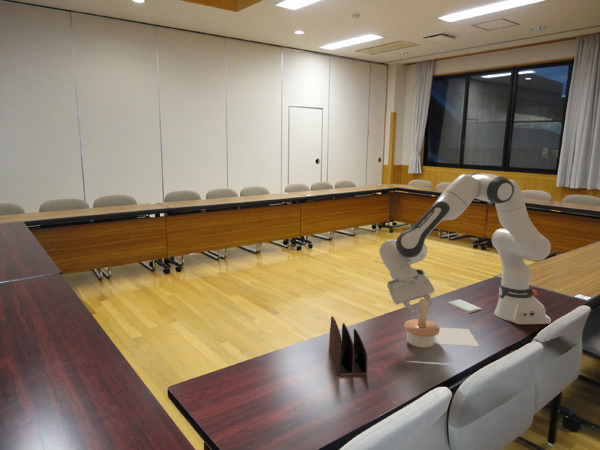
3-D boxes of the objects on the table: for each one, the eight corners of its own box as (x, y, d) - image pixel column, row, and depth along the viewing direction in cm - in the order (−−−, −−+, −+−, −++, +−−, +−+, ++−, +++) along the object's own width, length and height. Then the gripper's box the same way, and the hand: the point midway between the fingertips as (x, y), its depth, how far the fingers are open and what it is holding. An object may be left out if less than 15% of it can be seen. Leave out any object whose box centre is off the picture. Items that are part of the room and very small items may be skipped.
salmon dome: (435, 323, 168) (437, 294, 165) (442, 337, 155) (445, 306, 153) (402, 321, 169) (404, 292, 167) (406, 335, 156) (408, 304, 154)
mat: (468, 330, 174) (468, 329, 174) (479, 347, 159) (479, 346, 159) (431, 328, 175) (431, 327, 175) (438, 345, 161) (438, 343, 161)
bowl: (431, 337, 167) (432, 324, 166) (436, 349, 157) (437, 335, 156) (405, 335, 169) (406, 322, 168) (408, 347, 159) (409, 334, 158)
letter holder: (337, 377, 139) (338, 337, 136) (328, 348, 158) (329, 312, 155) (367, 376, 139) (369, 336, 137) (354, 347, 159) (356, 312, 156)
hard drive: (448, 301, 203) (469, 310, 192) (460, 299, 206) (481, 307, 195) (448, 305, 203) (468, 314, 192) (460, 302, 207) (481, 311, 196)
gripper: (389, 278, 159) (408, 311, 153) (426, 269, 170) (444, 300, 164) (380, 285, 163) (398, 318, 157) (416, 277, 174) (434, 307, 168)
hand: (422, 308), depth 161 cm, fingers open, 8 cm apart
